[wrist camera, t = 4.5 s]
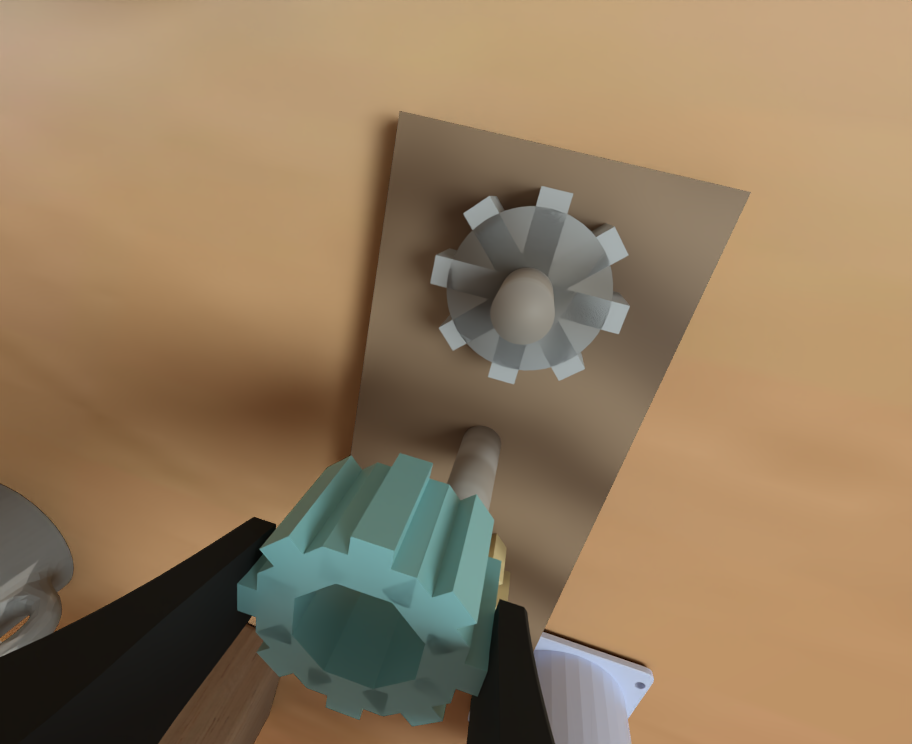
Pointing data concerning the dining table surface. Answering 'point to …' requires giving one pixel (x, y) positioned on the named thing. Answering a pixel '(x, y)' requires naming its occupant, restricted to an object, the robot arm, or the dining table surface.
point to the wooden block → (229, 698)
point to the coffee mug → (29, 571)
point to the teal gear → (378, 591)
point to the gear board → (537, 402)
